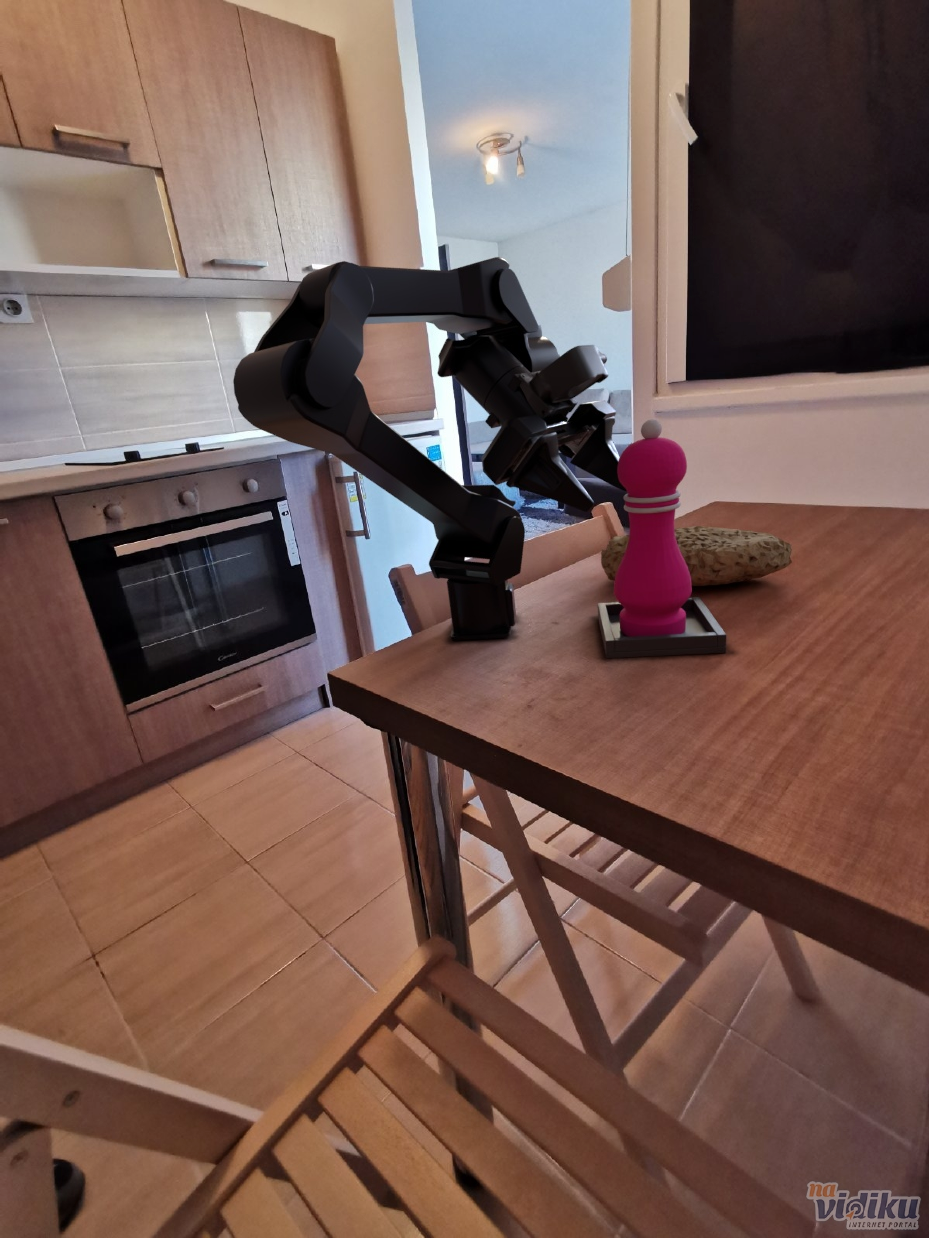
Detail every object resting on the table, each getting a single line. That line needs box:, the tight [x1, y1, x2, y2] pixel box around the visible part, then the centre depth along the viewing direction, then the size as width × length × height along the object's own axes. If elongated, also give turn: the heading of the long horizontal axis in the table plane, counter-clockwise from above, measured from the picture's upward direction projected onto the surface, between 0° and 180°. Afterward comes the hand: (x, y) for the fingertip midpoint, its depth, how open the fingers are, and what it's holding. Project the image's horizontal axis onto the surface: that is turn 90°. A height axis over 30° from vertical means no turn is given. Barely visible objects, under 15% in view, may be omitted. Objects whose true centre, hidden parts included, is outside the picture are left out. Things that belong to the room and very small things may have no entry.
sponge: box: [600, 525, 793, 587], centre depth 71 cm, size 13×8×20 cm
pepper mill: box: [613, 419, 693, 637], centre depth 55 cm, size 7×7×20 cm
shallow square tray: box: [597, 596, 728, 659], centre depth 59 cm, size 11×11×2 cm
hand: (611, 497), depth 57 cm, fingers open, 9 cm apart
